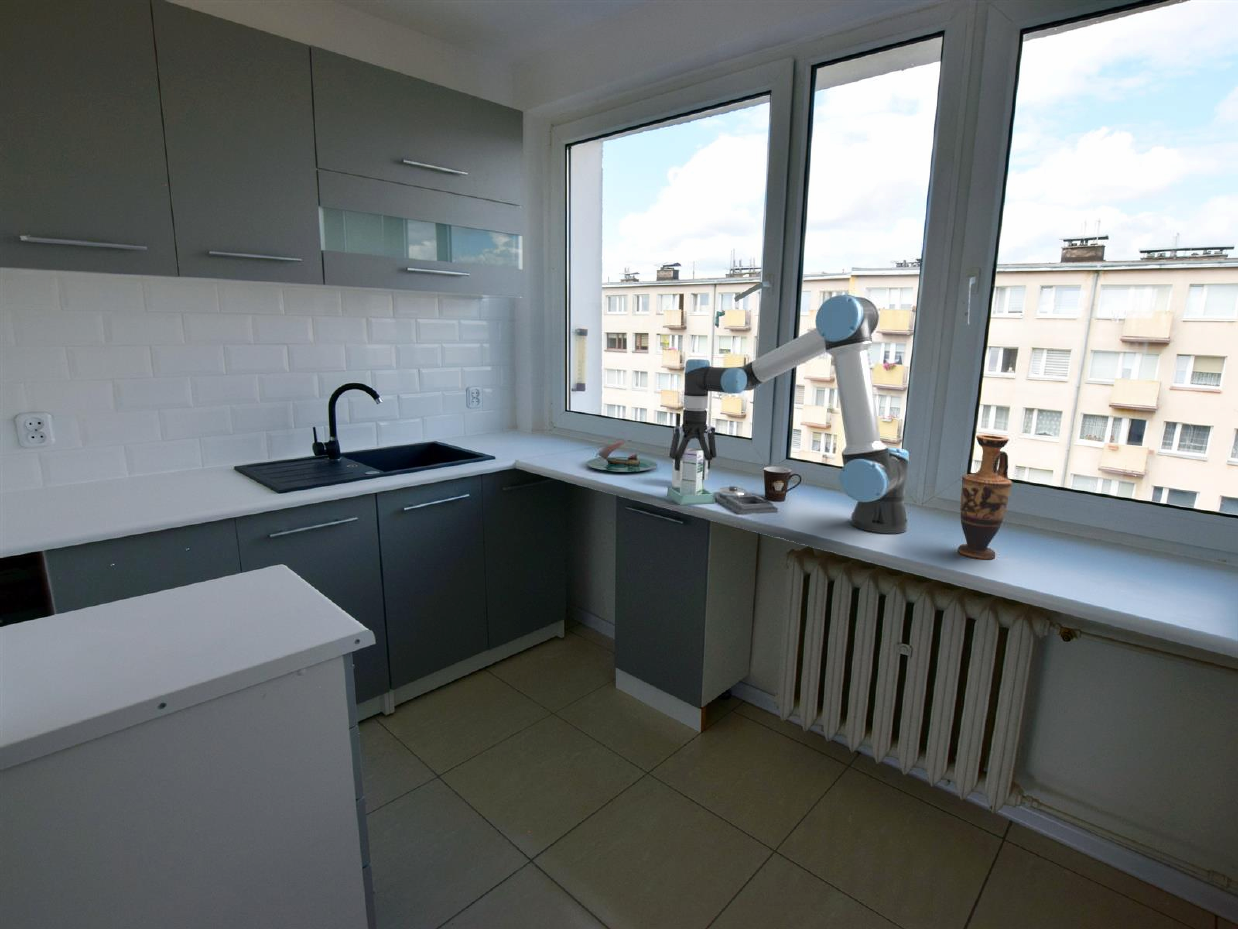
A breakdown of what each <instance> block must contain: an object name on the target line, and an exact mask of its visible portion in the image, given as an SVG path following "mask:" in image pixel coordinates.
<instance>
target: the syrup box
mask: <svg viewBox="0 0 1238 929" xmlns="http://www.w3.org/2000/svg"><path fill="white" fill-rule="evenodd" d="M704 459H705V457H704V450H702V448H695V447H694V448H691V447H689V448H686V449H685V451H684V453H683V456H682V458H681V460H682V461H683V471H682V481H680V494H682V495H698V494H701V493H703V488H704V480H703V471H704Z"/></svg>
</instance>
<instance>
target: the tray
mask: <svg viewBox="0 0 1238 929" xmlns="http://www.w3.org/2000/svg"><path fill="white" fill-rule="evenodd" d="M666 493H667V494H666V496H667V497H668V498H670V500H673V502H675V503H677V504H678V505H680V506H693V505H694V506H695V505H696V506H697V505H712V504H716V503H715V502H716V501H715V494H714V493H713V492H712V491H710V490H709V489H707V488H704V487H703V493H701V494H698V495H682V494H680V487H673V486H672V487H671V486H667V492H666Z"/></svg>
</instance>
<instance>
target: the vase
mask: <svg viewBox="0 0 1238 929" xmlns="http://www.w3.org/2000/svg"><path fill="white" fill-rule="evenodd" d="M975 438H976V440H977V443H978V445H979V446H980V447H981V448H982V456H981V463H980V467H979V469H978V471H976V472H974V473H969V474H968V473H967V474H963V475H962V477H961V478H962V479H961V496H960V508H959V509H960V524H961V529H962V532H963V535H964V538H965V542H966V543H963V544H960V545H959V546H958V548H957V552H958V553H959V554H961V555H963V556H966V557H968V558H969V557H970V558H973V559H980V560H992V559H995V558H996V551H994V549H992V548H989V544H990V543H991V542H992V540H993V539H994V537H995V536H996V534H997V533H998V532H999V530H1000V527H1001V526H1002V523H1003V520H1004V518H1005V514H1006V511H1007V507H1008V502H1009V498H1010V496H1011V494H1010V493H1011V490H1012V486H1013V481H1012V480H1011V479H1010V478H1009V477H1008V475H1009V474H1008V472H1009V471H1008V470H1009V455H1008V453H1007V452H1005V451H1002V450H1001V449H1002V448H1004V447H1005V446H1006V445H1007V444H1008V442H1009V441H1010V439H1009V438H1007V437H1004V436H999V435H991V434H978V435H975Z"/></svg>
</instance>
